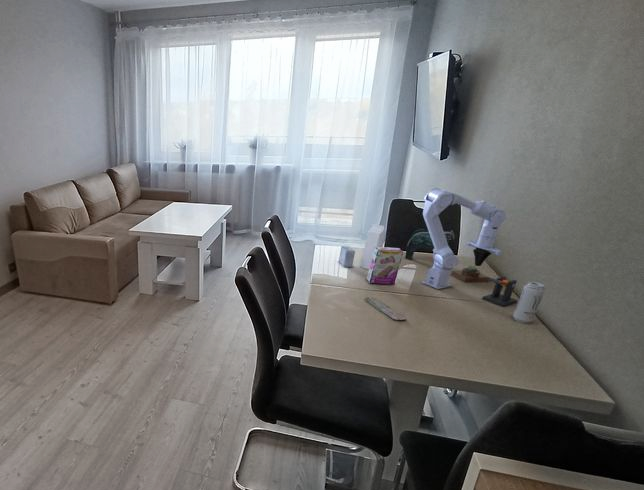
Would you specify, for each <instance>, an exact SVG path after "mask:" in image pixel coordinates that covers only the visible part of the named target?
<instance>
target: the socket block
mask: <svg viewBox="0 0 644 490" xmlns="http://www.w3.org/2000/svg"><path fill="white" fill-rule="evenodd" d="M450 276H452V277H454V278H456V279H458V280H460V281H462V282H464V283H481V282H483V283H484V282H489V281H488V278H490V276H488V275H486V274H484V273H481V271H480V269H477V272H470V271H467V267H463V268H462V270H461V269H460V270H451V274H450Z"/></svg>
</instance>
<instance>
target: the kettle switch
mask: <svg viewBox="0 0 644 490" xmlns="http://www.w3.org/2000/svg"><path fill="white" fill-rule="evenodd" d="M508 281H509V280H507V279H505V280H502V281H499V280H497V279H495V278H491V277H489V278H488V281H487V282H491V283H494V284H496V283H497V284H500V285H502V286H503V287H505V288H506V286H507V283H508Z"/></svg>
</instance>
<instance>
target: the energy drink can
mask: <svg viewBox="0 0 644 490" xmlns="http://www.w3.org/2000/svg"><path fill="white" fill-rule="evenodd" d="M545 293H546V289H545V284H543V283H540V282H537V281H528V282H527V283H526V284H525V285H524V286H523V289H522V292H521V294H520V297H519V299H518V300H517V304H516V307H515V309H514V311H513V314H512V317H513V320H515V321H517V322H519V323H522V324H530V323H531V322H533V321H534V319H535V316H536V314H537V311H538V309H539V307H540V304H541V302H542V300H543V297H544V295H545Z"/></svg>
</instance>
